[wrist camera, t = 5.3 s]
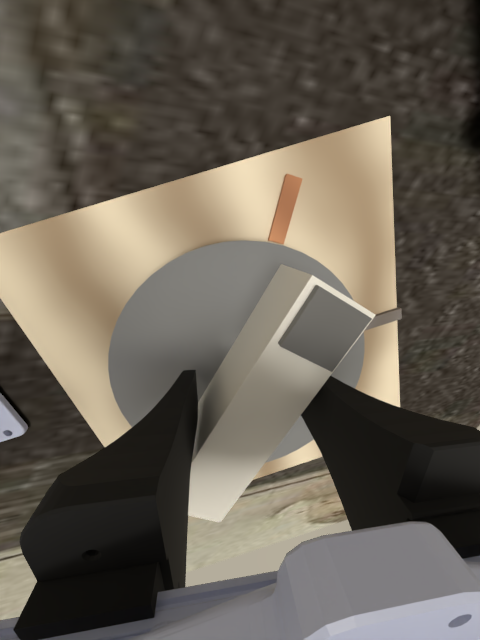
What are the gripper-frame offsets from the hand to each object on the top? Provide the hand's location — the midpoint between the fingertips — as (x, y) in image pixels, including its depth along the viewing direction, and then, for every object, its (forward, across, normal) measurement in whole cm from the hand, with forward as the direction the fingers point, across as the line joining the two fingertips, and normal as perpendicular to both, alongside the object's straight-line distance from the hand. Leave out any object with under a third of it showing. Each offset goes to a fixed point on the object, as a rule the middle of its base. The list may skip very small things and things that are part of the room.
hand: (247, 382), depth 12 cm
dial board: (+4, 0, 0) cm, 4 cm away
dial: (+2, 0, 0) cm, 2 cm away
